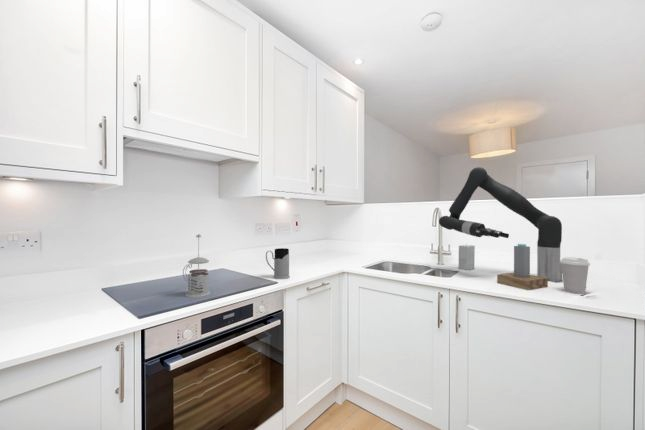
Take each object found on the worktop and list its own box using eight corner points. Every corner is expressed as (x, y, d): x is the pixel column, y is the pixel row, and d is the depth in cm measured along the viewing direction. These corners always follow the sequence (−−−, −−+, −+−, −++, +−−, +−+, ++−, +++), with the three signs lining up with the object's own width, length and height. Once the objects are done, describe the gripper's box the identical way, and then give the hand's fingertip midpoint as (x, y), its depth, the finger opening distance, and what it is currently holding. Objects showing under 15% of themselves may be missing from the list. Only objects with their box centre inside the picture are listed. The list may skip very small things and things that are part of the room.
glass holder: (284, 279, 141) (284, 250, 141) (261, 277, 146) (261, 249, 146) (292, 276, 149) (292, 248, 149) (270, 274, 154) (270, 247, 154)
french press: (202, 298, 110) (202, 235, 110) (176, 296, 112) (176, 234, 112) (215, 291, 120) (215, 233, 120) (191, 289, 122) (191, 233, 122)
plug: (519, 283, 132) (519, 243, 132) (529, 285, 128) (529, 244, 128) (513, 284, 130) (514, 243, 130) (523, 286, 126) (524, 244, 126)
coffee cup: (582, 298, 112) (582, 261, 112) (555, 291, 121) (555, 257, 121) (594, 295, 116) (595, 259, 116) (567, 289, 124) (567, 256, 124)
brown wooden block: (515, 282, 138) (515, 272, 138) (547, 289, 125) (547, 278, 125) (497, 284, 132) (497, 274, 132) (528, 292, 120) (528, 280, 120)
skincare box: (465, 267, 176) (465, 244, 176) (475, 269, 171) (475, 245, 171) (457, 269, 171) (458, 245, 171) (467, 270, 166) (467, 246, 166)
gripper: (466, 221, 148) (497, 228, 134) (482, 222, 155) (513, 229, 140) (463, 235, 149) (493, 243, 135) (479, 235, 156) (509, 243, 141)
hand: (503, 235), depth 138 cm, fingers open, 8 cm apart
